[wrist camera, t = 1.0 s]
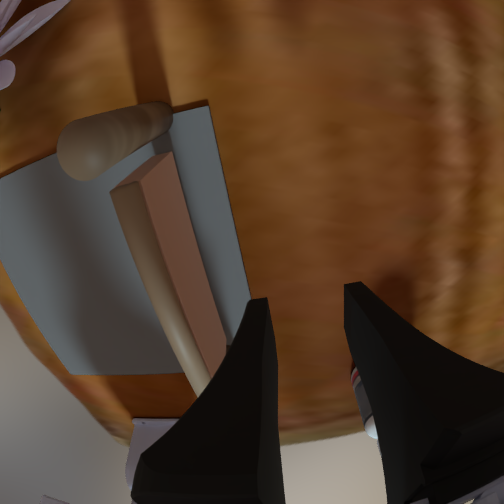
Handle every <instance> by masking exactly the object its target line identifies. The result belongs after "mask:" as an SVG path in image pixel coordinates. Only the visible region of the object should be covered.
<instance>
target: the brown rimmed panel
mask: <svg viewBox="0 0 504 504" xmlns="http://www.w3.org/2000/svg"><path fill="white" fill-rule="evenodd" d="M109 193H110V196H111V199H112V202H113V205H114V208H115V211H116V214H117V217H118V220H119V222H120V225H121V228H122V231H123V234H124V236H125V239H126V242H127V244H128V247H129V250H130V252H131V255H132V257H133V260H134V262H135V265H136V267H137V270H138V272H139V275H140V277H141V280H142V282H143V284H144V287H145V289H146V292H147V294H148V296H149V299H150V301H151V303H152V305H153V308H154V310H155V312H156V314H157V317H158V319H159V321H160V323H161V325H162V328H163V330H164V332H165V334H166V336H167V338H168V340H169V342H170V345H171V347H172V349H173V351H174V353H175V355H176V357H177V359H178V361H179V363H180V365H181V367H182V369H183V371H184V373H185V375H186V377H187V378H188V380H189V382H190V384H191V386H192V388H193V390H194V392H195V394H196V395H197V397H199V395H200V394H201V393H202V392H203V390H204V389H205V388H206V386H207V385H208V383H209V382H210V380H211V379H212V377H213V376H214V374H215V373H216V371H217V369H218V368H219V366H220V364H221V363H222V361H223V359H224V357H225V355H226V341H227V339H226V336H225V333H224V330H223V327H222V324H221V321H220V318H219V314H218V311H217V308H216V305H215V302H214V299H213V295H212V292H211V289H210V286H209V282H208V279H207V276H206V272H205V269H204V266H203V262H202V259H201V256H200V252H199V249H198V245H197V242H196V238H195V235H194V231H193V228H192V224H191V221H190V217H189V214H188V210H187V206H186V203H185V199H184V195H183V191H182V188H181V184H180V180H179V176H178V172H177V169H176V165H175V161H174V157H173V153H172V151H171V152H167V153H163V154H159V155H155V156H152V157H150V158H149V159H148V160H147V161H145V162H144V163H143V164H142V165H140V166H139V167H138V168H137V169H135V170H134V171H133V172H132V173H131V174H129V175H128V176H127V177H126V178H125V179H123V180H122V181H121V182H120V183H119V184H118V185H116V186H115V187H114V189H112V190H111V191H110V192H109Z"/></svg>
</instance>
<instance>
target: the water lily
mask: <svg viewBox="0 0 504 504" xmlns="http://www.w3.org/2000/svg"><path fill="white" fill-rule="evenodd" d="M69 1H70V0H56V1H53V2H50V3H48V4H45V5H43V6H41V7H39V8H37V9H35V10H33V11H32V12H30V13H28V14H27V15H25V16H24V17H22V18H21V19H20V20H19V21H17V22H16V23H15V24H14V25H13V26H12V27H11V28H10V29H9V30H8V31H7V32H5V33H4V34H3V35H2V36H1V37H0V56H2V55H3V54H5V53H6V52H8V51H9V50H11V49H12V48H13V47H15V46H16V45H18V44H19V43H20V42H22V41H23V40H24V39H26V38H27V37H28V36H30V35H31V34H32V33H33V32H35V31H36V30H37V29H39V28H40V27H41V26H42V25H43V24H45V23H46V22H47V21H48V20H49V19H51V18H52V17H53V16H54V15H55V14H56V13H57V12H59V11H60V10H61V9H62V8H63V7H64V6H65V5H66V4H67V3H68V2H69ZM20 2H21V0H2V1H1V2H0V32H1V31H2V30H3V28H4V27H5V25H6V24H7V22H8V21H9V19H10V18H11V16H12V15H13V13H14V11H15V10H16V8H17V7H18V5H19V3H20ZM15 70H16V69H15V65H14V63H13V62H12V61H10V60H2V61H0V90H2V89H4V88H6V87H7V86H9V85H10V84H11V83H12V82H13V79H14V77H15ZM0 111H1V109H0Z"/></svg>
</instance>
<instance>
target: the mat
mask: <svg viewBox="0 0 504 504" xmlns="http://www.w3.org/2000/svg"><path fill="white" fill-rule="evenodd" d="M171 151H172V153H173V157H174V161H175V165H176V169H177V172H178V176H179V180H180V184H181V188H182V191H183V195H184V199H185V203H186V206H187V210H188V214H189V217H190V221H191V224H192V228H193V231H194V235H195V238H196V242H197V245H198V249H199V252H200V256H201V259H202V262H203V266H204V269H205V272H206V276H207V279H208V282H209V286H210V289H211V292H212V295H213V299H214V302H215V305H216V308H217V311H218V314H219V318H220V321H221V324H222V327H223V330H224V333H225V336H226V339H227V341H226V345H230V346H231V344H232V341H233V339H234V337H235V335H236V332H237V330H238V328H239V325H240V323H241V320H242V318H243V315H244V312H245V308H246V305H247V302H248V301H249V300H252V299H251V295H250V291H249V286H248V282H247V277H246V273H245V269H244V264H243V260H242V255H241V251H240V246H239V242H238V237H237V233H236V228H235V224H234V219H233V215H232V210H231V206H230V201H229V197H228V192H227V188H226V183H225V178H224V174H223V169H222V165H221V160H220V155H219V151H218V146H217V142H216V137H215V132H214V128H213V123H212V118H211V113H210V109H209V106H204V107H200V108H195V109H191V110H187V111H183V112H179V113H175V114H173V123H172V126H171V127H170V129H169V130H168V131H167V132H166V133H164V134H163V135H161V136H159V137H158V138H156V139H154V140H153V141H151V142H149V143H148V144H146V145H145V146H143V147H141V148H140V149H138V150H137V151H135V152H134V153H132V154H130V155H129V156H127V157H126V158H124V159H123V160H121V161H120V162H118V163H117V164H115V165H114V166H112V167H111V168H109V169H108V170H107V171H105V172H104V173H102V174H101V175H99V176H98V177H96V178H95V179H92V180H89V181H80V180H76V179H74V178H72V177H70V176H69V175H68V174H67V173H66V172H65V171H64V170H63V169H62V167H61V165H60V163H59V160H58V157H57V153H55V154H52V155H50V156H48V157H45V158H43V159H41V160H38V161H36V162H34V163H32V164H30V165H27V166H25V167H23V168H21V169H19V170H17V171H15V172H13V173H11V174H9V175H7V176H5V177H3V178H1V179H0V260H1V262H2V264H3V266H4V268H5V270H6V272H7V274H8V276H9V278H10V280H11V282H12V283H13V285H14V287H15V289H16V291H17V293H18V294H19V296H20V298H21V300H22V301H23V303H24V305H25V307H26V308H27V310H28V312H29V313H30V315H31V317H32V318H33V320H34V322H35V323H36V325H37V326H38V328H39V329H40V331H41V333H42V334H43V336H44V337H45V339H46V340H47V342H48V343H49V345H50V346H51V348H52V349H53V350H54V352H55V353H56V355H57V356H58V358H59V359H60V360H61V362H62V363H63V364H64V366H65V367H66V368H67V370H68V371H69V372H70V374H74V375H144V374H168V373H184V371H183V369H182V367H181V365H180V363H179V361H178V359H177V357H176V355H175V353H174V351H173V349H172V347H171V345H170V342H169V340H168V338H167V336H166V334H165V332H164V330H163V328H162V325H161V323H160V321H159V319H158V317H157V314H156V312H155V310H154V308H153V305H152V303H151V301H150V299H149V296H148V294H147V292H146V289H145V287H144V284H143V282H142V280H141V277H140V275H139V272H138V270H137V267H136V265H135V262H134V260H133V257H132V255H131V252H130V250H129V247H128V244H127V242H126V239H125V236H124V234H123V231H122V228H121V225H120V222H119V220H118V217H117V214H116V211H115V208H114V205H113V202H112V199H111V196H110V193H109V192H110V191H111V190H112V189H114V187H115V186H116V185H118V184H119V183H120V182H121V181H122V180H123V179H125V178H126V177H127V176H128V175H129V174H131V173H132V172H133V171H134V170H135V169H137V168H138V167H139V166H140V165H142V164H143V163H144V162H145V161H147V160H148V159H149V158H150V157H152V156H155V155H159V154H163V153H167V152H171Z"/></svg>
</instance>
